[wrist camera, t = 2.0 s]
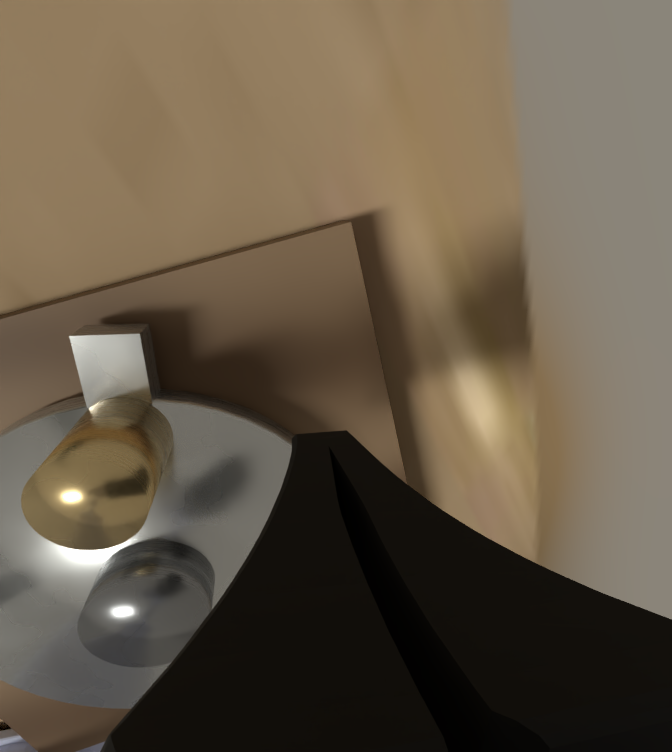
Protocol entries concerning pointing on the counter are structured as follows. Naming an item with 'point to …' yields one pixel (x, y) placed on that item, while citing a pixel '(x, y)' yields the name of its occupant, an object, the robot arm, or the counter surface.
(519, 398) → the counter surface
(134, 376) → the flange plate
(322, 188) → the counter surface
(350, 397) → the walnut board
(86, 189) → the counter surface
